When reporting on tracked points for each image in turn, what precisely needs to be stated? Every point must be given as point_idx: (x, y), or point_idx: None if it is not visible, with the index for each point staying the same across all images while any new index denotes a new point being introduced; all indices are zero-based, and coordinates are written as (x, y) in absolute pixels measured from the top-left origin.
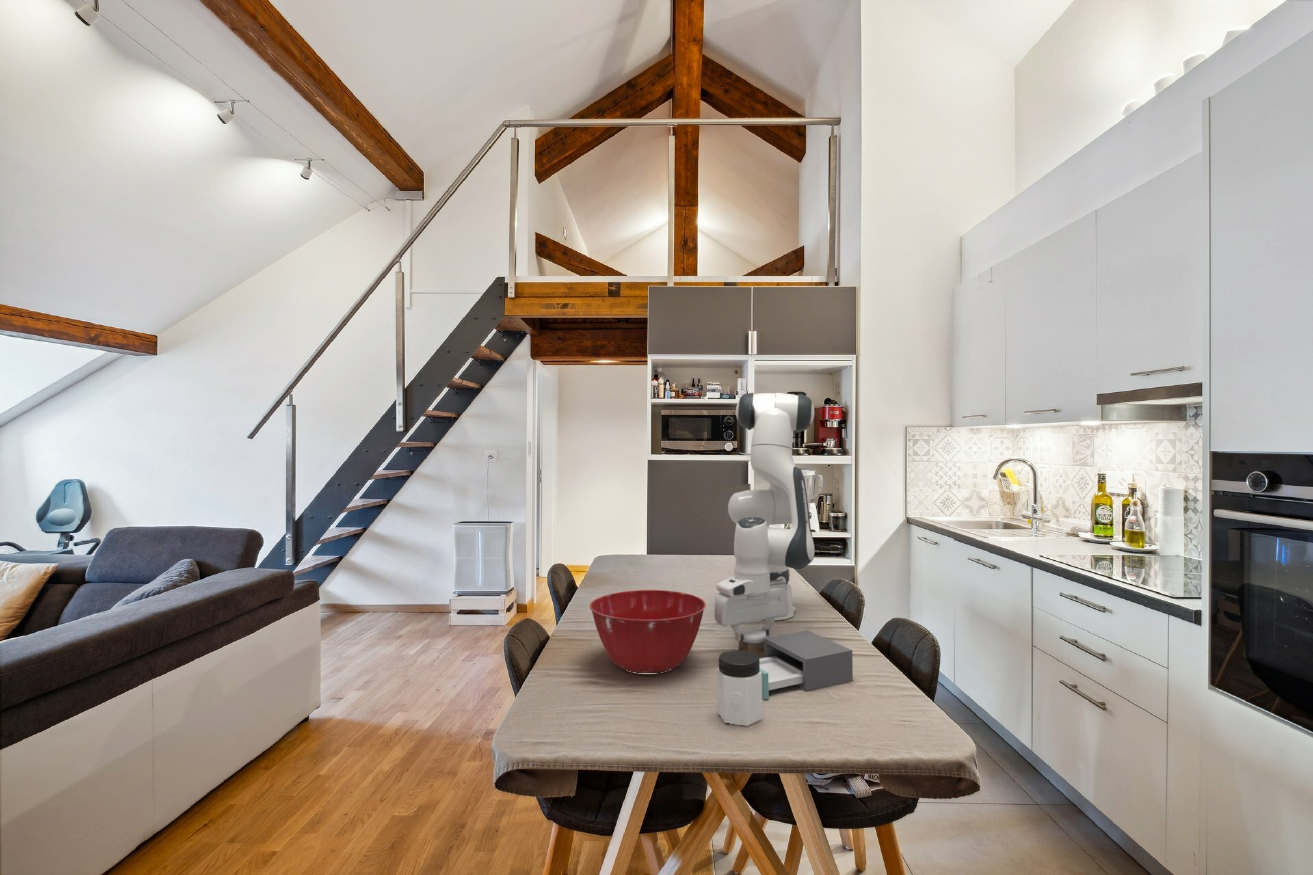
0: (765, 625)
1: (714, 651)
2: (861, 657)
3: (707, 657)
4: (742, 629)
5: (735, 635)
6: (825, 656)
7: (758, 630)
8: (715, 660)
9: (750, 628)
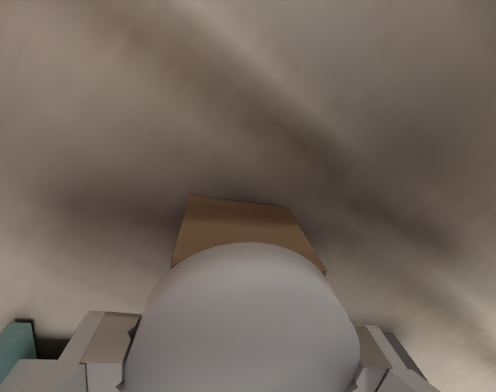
0: (410, 387)
1: (113, 22)
2: (492, 383)
3: (10, 88)
4: (213, 300)
5: (71, 345)
6: None
7: (308, 373)
8: (40, 159)
9: (299, 313)
